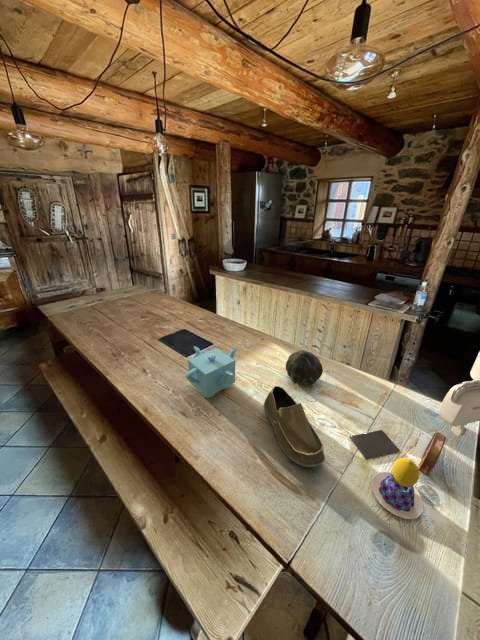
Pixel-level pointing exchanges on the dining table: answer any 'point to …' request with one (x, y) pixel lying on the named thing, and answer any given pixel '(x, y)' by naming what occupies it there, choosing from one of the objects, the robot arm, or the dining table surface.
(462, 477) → the dining table surface
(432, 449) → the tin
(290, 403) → the loafer
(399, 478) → the lemon
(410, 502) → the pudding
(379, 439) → the slate coaster
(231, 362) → the teal knobbed box
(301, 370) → the squash
